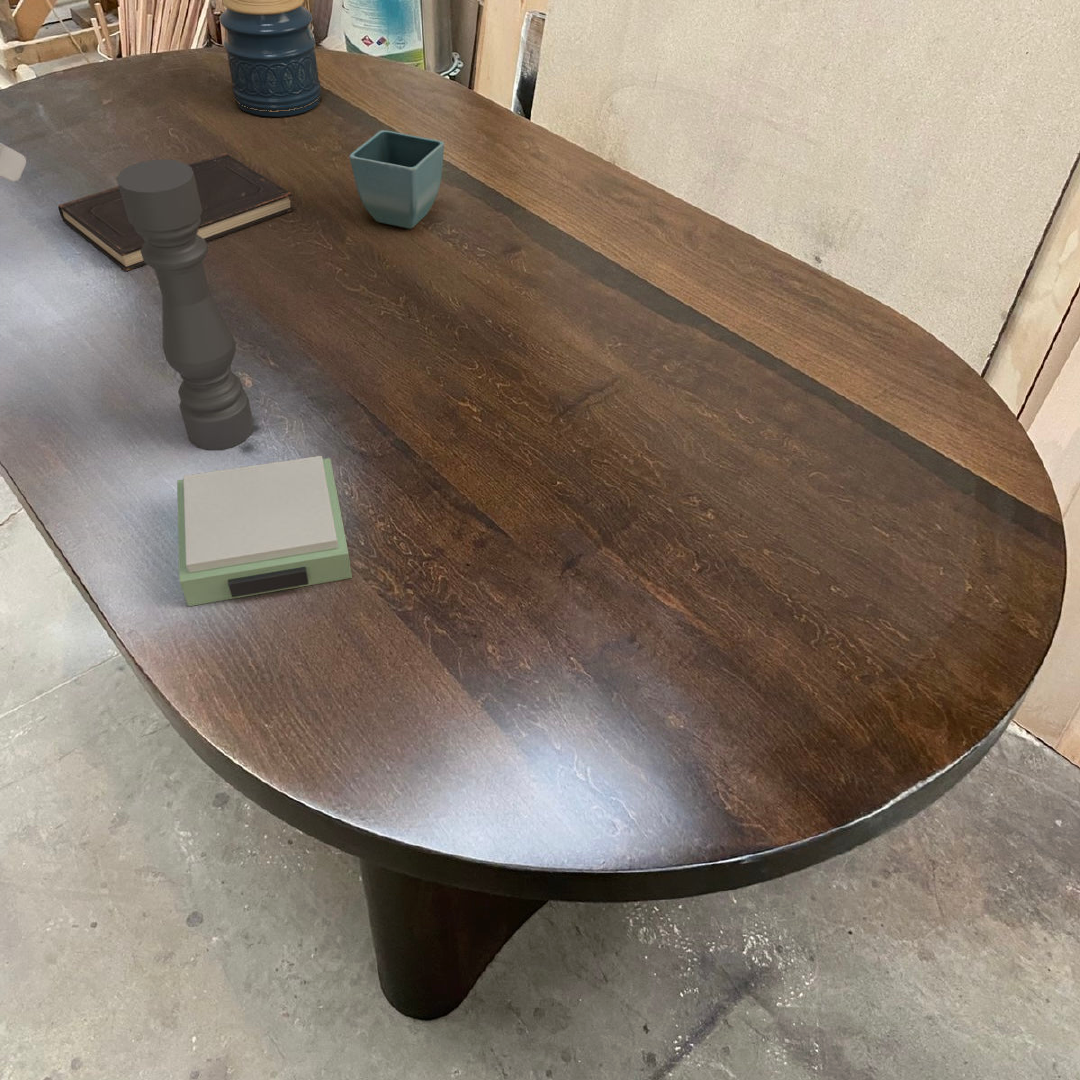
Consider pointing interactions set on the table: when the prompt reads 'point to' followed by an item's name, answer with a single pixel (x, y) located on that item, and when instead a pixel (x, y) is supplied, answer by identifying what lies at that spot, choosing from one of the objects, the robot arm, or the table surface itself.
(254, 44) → the canister
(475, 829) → the table surface
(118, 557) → the table surface
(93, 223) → the hardcover book
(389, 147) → the flower pot
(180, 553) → the scale
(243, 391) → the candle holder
